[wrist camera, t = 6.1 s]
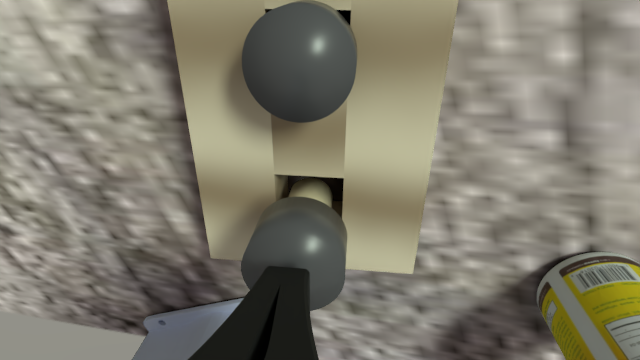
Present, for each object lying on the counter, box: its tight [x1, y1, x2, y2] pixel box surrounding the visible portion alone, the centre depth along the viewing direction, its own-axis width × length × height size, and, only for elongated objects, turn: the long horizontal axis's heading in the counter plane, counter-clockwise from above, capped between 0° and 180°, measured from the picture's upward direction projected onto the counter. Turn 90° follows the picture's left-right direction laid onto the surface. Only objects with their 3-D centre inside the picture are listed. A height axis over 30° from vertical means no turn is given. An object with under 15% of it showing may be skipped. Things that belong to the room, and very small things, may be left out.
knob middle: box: [242, 0, 357, 123], centre depth 14 cm, size 4×4×5 cm
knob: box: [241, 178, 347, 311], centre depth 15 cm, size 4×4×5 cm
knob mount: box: [167, 0, 458, 274], centre depth 15 cm, size 20×10×3 cm, turn 0°
